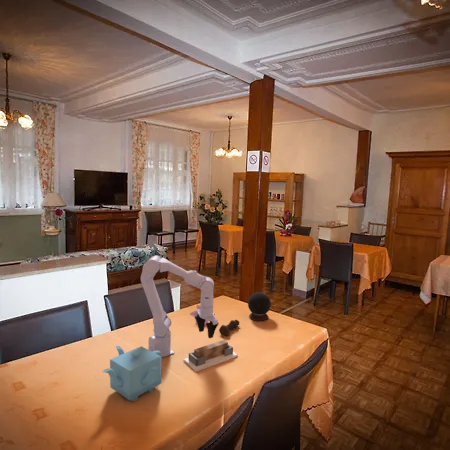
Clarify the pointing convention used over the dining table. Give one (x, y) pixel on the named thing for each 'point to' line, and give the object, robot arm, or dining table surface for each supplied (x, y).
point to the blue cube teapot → (135, 372)
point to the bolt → (228, 327)
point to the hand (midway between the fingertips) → (205, 334)
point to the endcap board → (202, 364)
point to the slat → (211, 350)
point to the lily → (196, 314)
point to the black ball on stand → (259, 306)
